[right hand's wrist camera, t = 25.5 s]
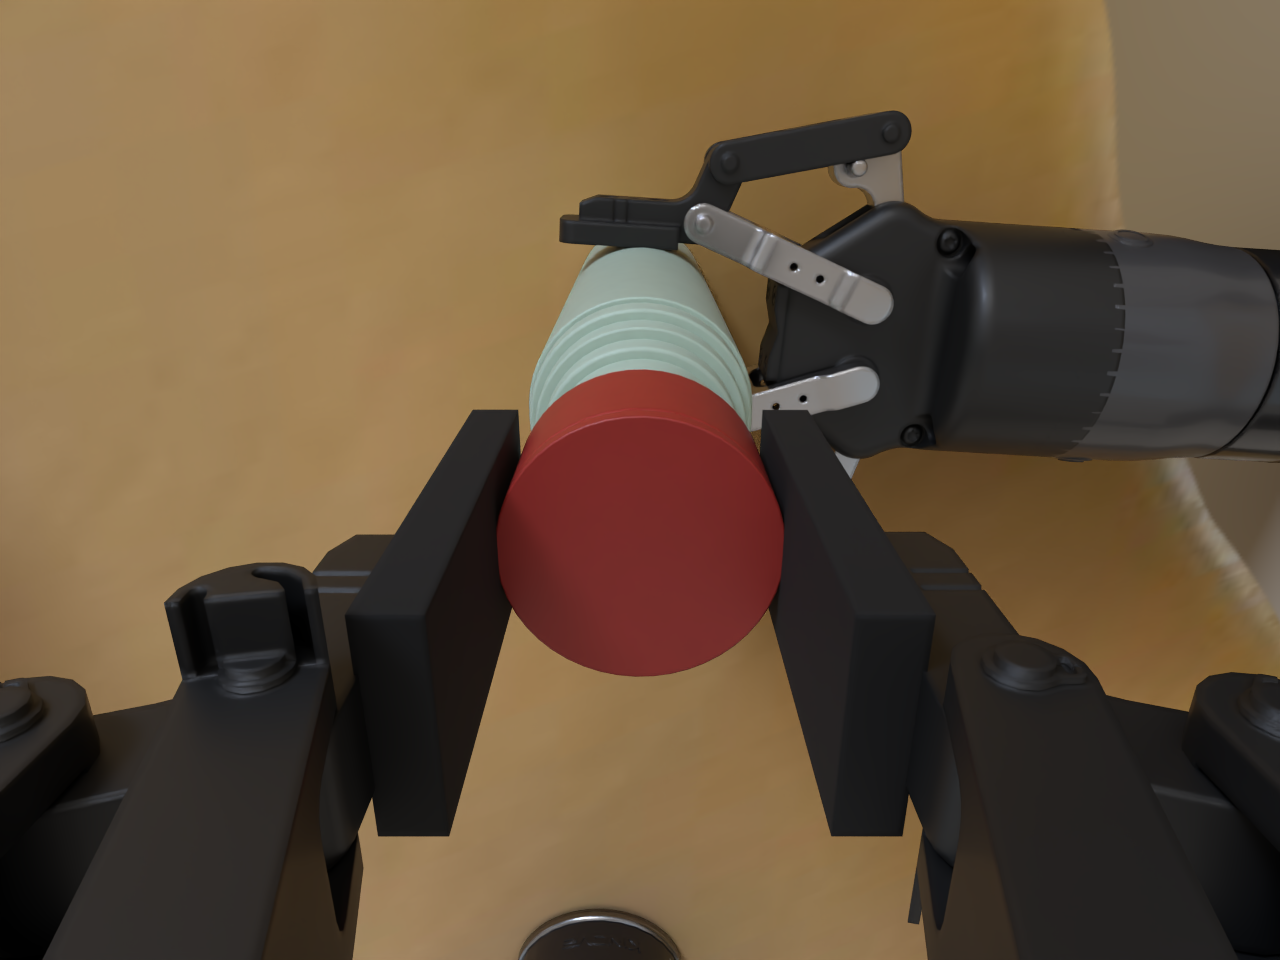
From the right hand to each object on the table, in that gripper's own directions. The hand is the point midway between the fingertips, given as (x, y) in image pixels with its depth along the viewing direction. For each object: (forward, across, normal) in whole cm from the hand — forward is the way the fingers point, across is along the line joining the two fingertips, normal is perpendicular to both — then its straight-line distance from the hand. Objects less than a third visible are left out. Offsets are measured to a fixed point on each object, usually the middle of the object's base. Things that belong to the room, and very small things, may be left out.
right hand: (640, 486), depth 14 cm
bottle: (+21, 0, 0) cm, 21 cm away
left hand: (+14, -3, 0) cm, 15 cm away
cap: (-2, 0, 0) cm, 2 cm away
